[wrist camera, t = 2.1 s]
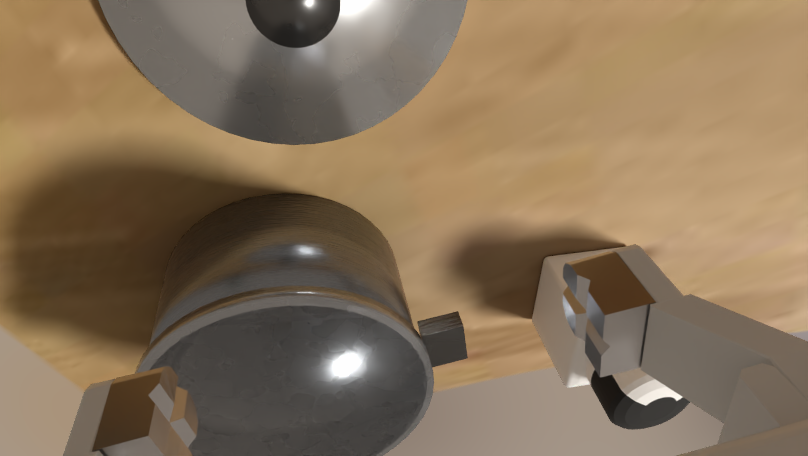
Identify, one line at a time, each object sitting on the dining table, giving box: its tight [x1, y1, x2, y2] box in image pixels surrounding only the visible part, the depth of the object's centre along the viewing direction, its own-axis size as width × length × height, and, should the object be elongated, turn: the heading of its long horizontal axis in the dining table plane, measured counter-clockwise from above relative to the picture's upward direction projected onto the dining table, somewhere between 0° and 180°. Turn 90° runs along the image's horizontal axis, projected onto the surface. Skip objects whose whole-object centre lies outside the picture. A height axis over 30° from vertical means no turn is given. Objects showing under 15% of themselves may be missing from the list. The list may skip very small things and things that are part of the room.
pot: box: [135, 194, 467, 456], centre depth 36 cm, size 17×22×10 cm
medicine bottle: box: [532, 247, 690, 429], centre depth 41 cm, size 7×7×12 cm
